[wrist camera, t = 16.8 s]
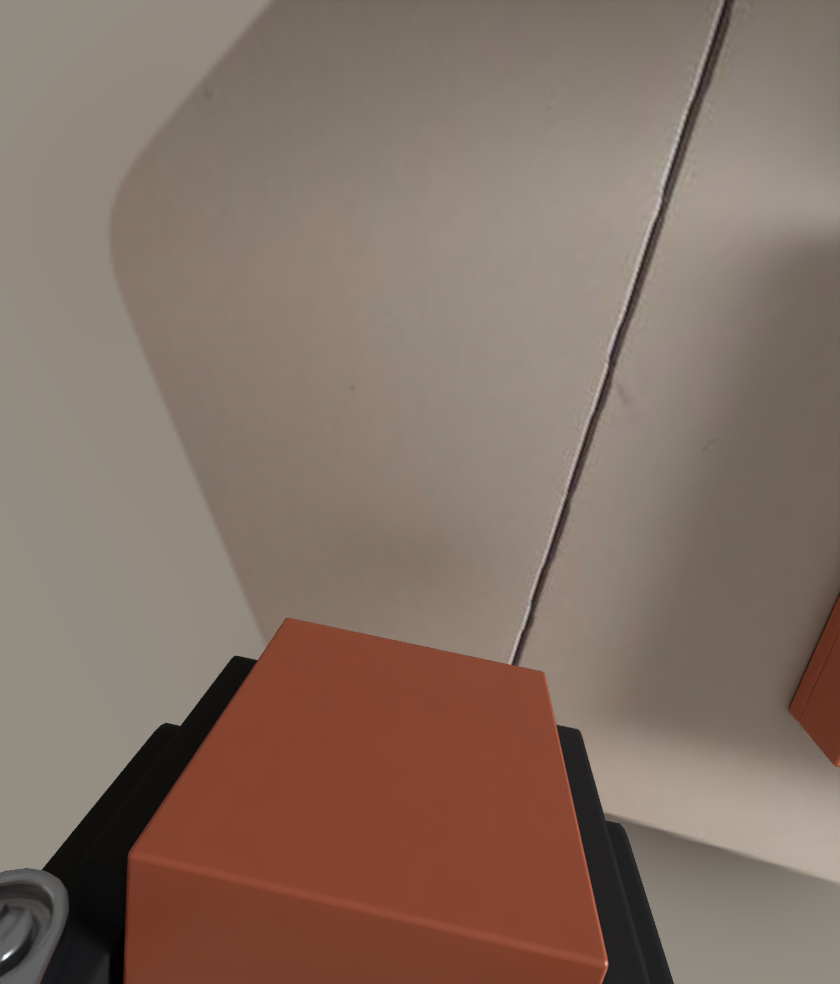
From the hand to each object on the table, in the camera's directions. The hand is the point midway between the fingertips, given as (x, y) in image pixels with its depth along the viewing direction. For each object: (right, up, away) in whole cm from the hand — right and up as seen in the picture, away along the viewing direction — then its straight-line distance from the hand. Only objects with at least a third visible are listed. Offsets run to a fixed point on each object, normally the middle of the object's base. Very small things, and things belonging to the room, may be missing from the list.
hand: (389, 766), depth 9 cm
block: (0, 0, 0) cm, 0 cm away
